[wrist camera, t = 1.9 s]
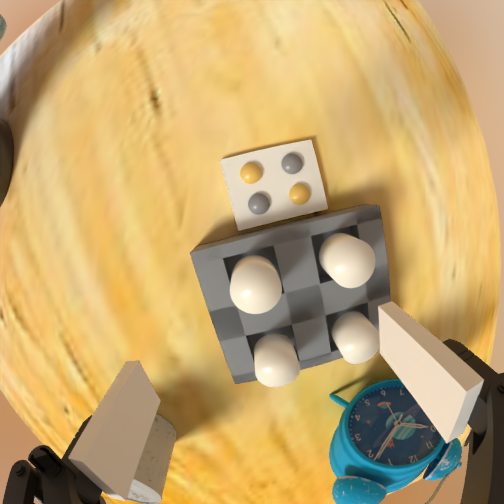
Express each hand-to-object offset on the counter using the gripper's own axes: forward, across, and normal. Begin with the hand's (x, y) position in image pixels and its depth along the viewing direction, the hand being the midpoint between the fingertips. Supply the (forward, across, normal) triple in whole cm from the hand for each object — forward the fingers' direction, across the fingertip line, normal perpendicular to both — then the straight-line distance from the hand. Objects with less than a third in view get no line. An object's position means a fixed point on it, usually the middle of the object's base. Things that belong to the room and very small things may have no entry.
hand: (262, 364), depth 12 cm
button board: (+16, +4, -4) cm, 17 cm away
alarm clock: (+16, +11, -23) cm, 30 cm away
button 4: (+13, +8, -8) cm, 17 cm away
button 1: (+13, 0, 0) cm, 13 cm away
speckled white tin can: (+16, -22, -21) cm, 34 cm away
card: (+16, +4, +8) cm, 18 cm away
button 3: (+13, +8, 0) cm, 15 cm away
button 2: (+13, 0, -8) cm, 15 cm away
